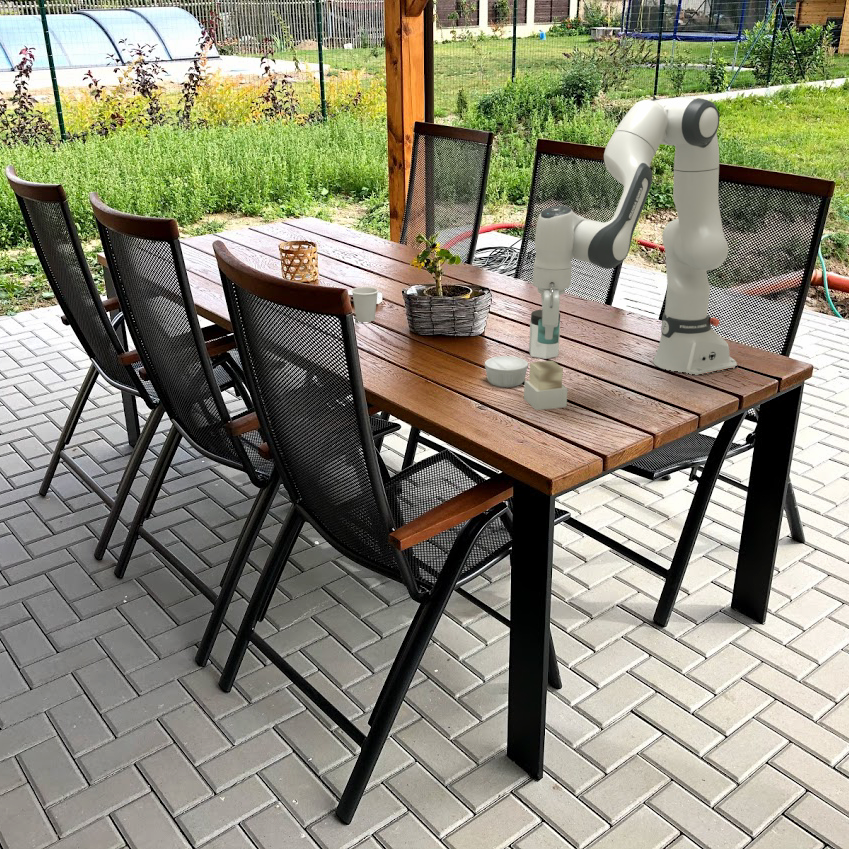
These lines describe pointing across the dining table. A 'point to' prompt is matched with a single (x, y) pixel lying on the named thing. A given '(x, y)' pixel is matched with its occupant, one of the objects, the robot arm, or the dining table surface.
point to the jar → (534, 346)
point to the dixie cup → (365, 303)
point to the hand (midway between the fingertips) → (548, 334)
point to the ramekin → (506, 371)
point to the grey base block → (545, 397)
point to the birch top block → (546, 375)
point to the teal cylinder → (542, 334)
